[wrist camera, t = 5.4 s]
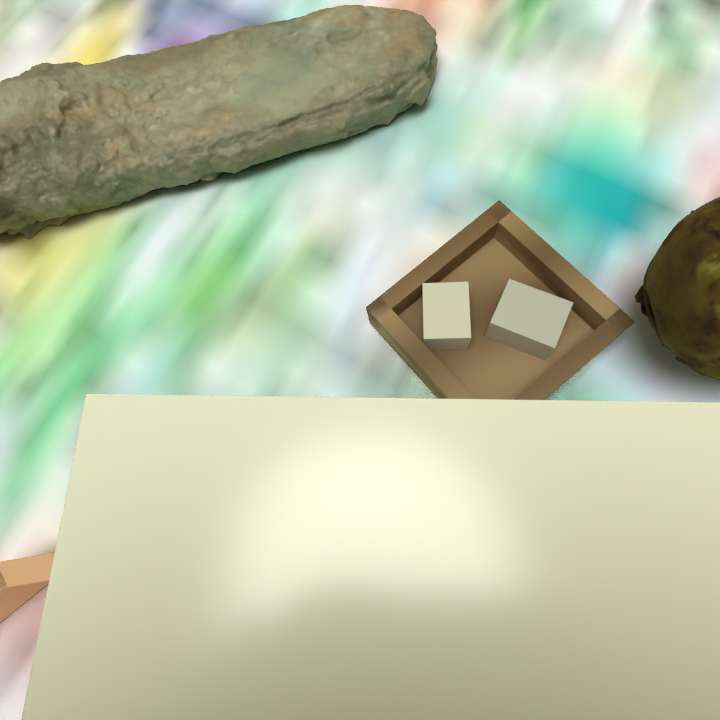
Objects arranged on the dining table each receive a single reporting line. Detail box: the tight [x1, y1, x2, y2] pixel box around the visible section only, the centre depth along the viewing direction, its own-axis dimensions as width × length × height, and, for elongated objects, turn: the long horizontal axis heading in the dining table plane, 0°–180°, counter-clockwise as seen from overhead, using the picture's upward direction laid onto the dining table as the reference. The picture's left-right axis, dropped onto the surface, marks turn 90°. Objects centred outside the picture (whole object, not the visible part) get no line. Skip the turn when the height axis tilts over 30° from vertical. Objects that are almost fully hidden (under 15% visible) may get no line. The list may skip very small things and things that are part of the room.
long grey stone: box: [0, 5, 437, 239], centre depth 27 cm, size 35×5×10 cm
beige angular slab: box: [485, 279, 573, 360], centre depth 22 cm, size 3×2×2 cm
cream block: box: [422, 282, 471, 350], centre depth 23 cm, size 3×2×2 cm
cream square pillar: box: [22, 394, 720, 720], centre depth 9 cm, size 5×5×13 cm
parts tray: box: [366, 200, 635, 400], centre depth 23 cm, size 8×8×2 cm
